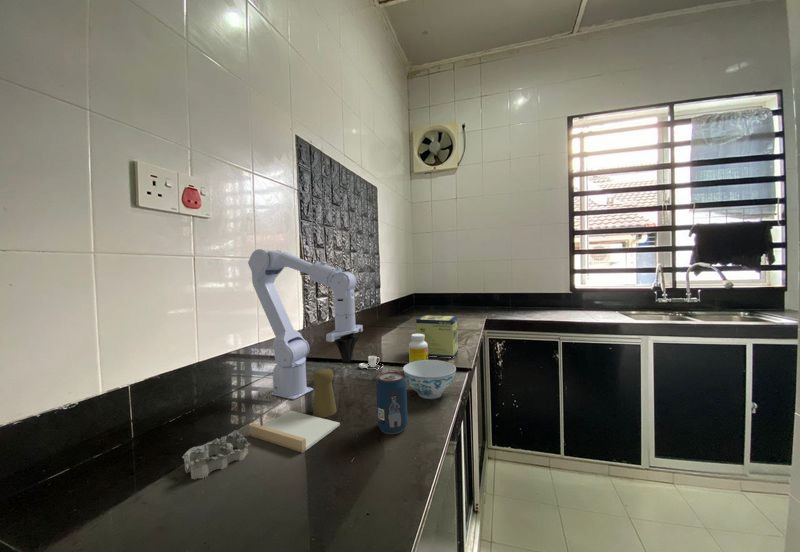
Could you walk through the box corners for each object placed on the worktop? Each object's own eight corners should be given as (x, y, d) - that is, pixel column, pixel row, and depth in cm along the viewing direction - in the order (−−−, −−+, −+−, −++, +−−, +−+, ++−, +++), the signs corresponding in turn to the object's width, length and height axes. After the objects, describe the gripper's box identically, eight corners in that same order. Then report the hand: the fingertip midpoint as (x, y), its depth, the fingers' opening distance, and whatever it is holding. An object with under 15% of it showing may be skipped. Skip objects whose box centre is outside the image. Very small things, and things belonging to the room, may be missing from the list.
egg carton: (192, 485, 55) (190, 463, 54) (181, 468, 59) (180, 448, 59) (252, 457, 62) (251, 438, 62) (238, 444, 67) (237, 426, 67)
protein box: (454, 359, 122) (452, 320, 122) (416, 356, 128) (415, 319, 127) (458, 352, 132) (457, 315, 132) (423, 350, 137) (422, 315, 137)
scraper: (249, 435, 70) (248, 425, 70) (290, 412, 81) (290, 403, 81) (302, 452, 63) (302, 441, 63) (339, 425, 73) (339, 415, 73)
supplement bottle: (429, 374, 106) (428, 336, 106) (409, 374, 107) (408, 337, 106) (427, 367, 113) (426, 332, 113) (409, 368, 113) (408, 333, 113)
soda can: (393, 417, 76) (391, 369, 76) (413, 427, 71) (412, 375, 71) (371, 428, 71) (369, 376, 71) (391, 439, 67) (390, 384, 66)
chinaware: (431, 411, 79) (430, 381, 79) (393, 394, 90) (392, 368, 90) (467, 393, 89) (466, 367, 89) (429, 380, 100) (428, 356, 100)
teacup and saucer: (357, 370, 113) (356, 359, 113) (363, 364, 121) (362, 353, 121) (380, 371, 112) (380, 360, 112) (385, 364, 120) (384, 354, 120)
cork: (330, 418, 77) (329, 374, 77) (308, 416, 78) (306, 373, 78) (340, 407, 83) (338, 366, 83) (319, 406, 84) (317, 365, 84)
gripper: (340, 318, 81) (342, 370, 81) (370, 310, 93) (372, 355, 94) (319, 317, 84) (321, 367, 84) (351, 310, 97) (352, 353, 97)
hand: (346, 361), depth 89 cm, fingers closed
